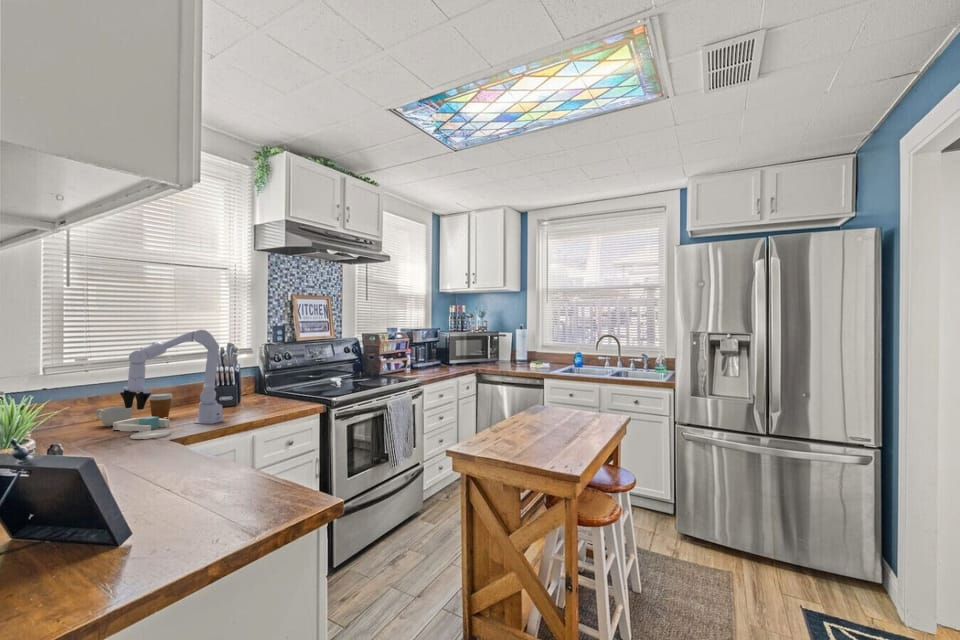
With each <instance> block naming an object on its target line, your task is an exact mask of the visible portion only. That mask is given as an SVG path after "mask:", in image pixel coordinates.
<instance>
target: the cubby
mask: <svg viewBox="0 0 960 640" xmlns="http://www.w3.org/2000/svg"><path fill="white" fill-rule="evenodd" d="M139 418H140V417H135V418H134V417H133V418H131V419H128V420H123V421H118V422H113V427H112V431H113V430H120V431H119V432H132V431H139V432H145V431H152V430H151V425H138V424H139ZM170 420H171V418H168V419H162V418H159V428H163V427H166V428H170V427H169V426H170V424H171V423H170V422H171V421H170ZM139 432H138V433H139Z"/></svg>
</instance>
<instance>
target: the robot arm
mask: <svg viewBox="0 0 960 640" xmlns="http://www.w3.org/2000/svg"><path fill="white" fill-rule="evenodd" d="M186 342H196V343H198V344H200V345H202V346H203V347H204V348H206V350H207V353H206V364H205V372H204V380H203V388H202V391H201V392H200V395H199V400H200V402H199V403H198V420H197V421H194V422H193V424H202V425H203V424H205V425H210V424H211V425H212V424H217V423H220V422H224V419H223V418H224V417H223V414H224V413H223V412H224V408H223V405H222V404H220V403H218V400H216V397H217V391H216V390H215V388H216V377H217V370H218V369H217V367H218V359H219V358H218V357H219V350H220V345H219V344H218V342H217V340H216V339H215V337H214V335H212V334H211V333H210V332H209V330H208V331H207V330H206V329H197V330H194V331H193V330H192V331H189V332H186V333H183V334H180V335H179V336H176V337H174V338H172V339H169V340H167V341H165V342H160V341H157V342H156V341H154V342H151V344H149V345H148V346H144V347H139V350H134V351H132V352H131V353H130V354H129V355H128V360H129V367H128V380H127V386H122V387H121V392H120V393H119V395H120V396H121V397H122V400H123V402H124V406H125V408H132V409H133V404H134V399H136V409H137V410H144V408H145V406H146V404H147V402H148V400H149V397H150V395H152V393H151V392H150V390H151V389H150V388H147V387H145V384H146V383H145V380H146V361H147V360H152V359H154V358H157V357H159V356H161V355H163V354H166V352H167V350H168V349H170V348H173V347H175V346H178V345H180V344H183V343H186Z"/></svg>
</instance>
